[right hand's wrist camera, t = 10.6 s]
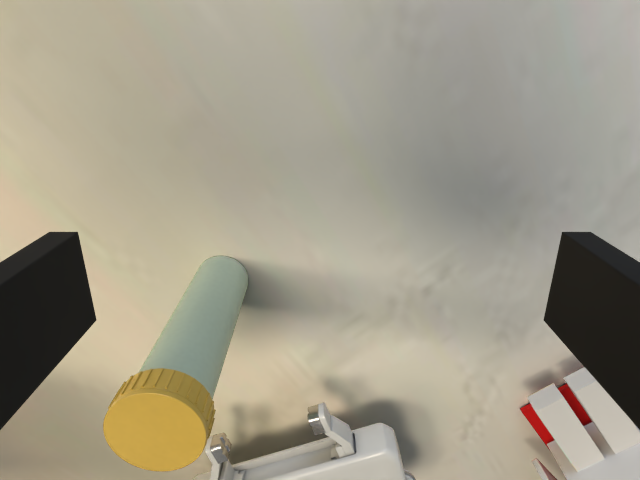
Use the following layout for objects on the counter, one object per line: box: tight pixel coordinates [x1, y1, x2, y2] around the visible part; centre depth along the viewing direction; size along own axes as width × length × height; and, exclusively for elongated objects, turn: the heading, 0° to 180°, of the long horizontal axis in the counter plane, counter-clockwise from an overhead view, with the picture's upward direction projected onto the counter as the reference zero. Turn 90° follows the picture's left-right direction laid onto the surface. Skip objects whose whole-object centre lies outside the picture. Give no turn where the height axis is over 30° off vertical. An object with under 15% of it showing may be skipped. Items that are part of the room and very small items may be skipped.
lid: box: [103, 368, 215, 471], centre depth 24 cm, size 6×6×2 cm
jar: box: [139, 256, 248, 399], centre depth 32 cm, size 5×5×17 cm
